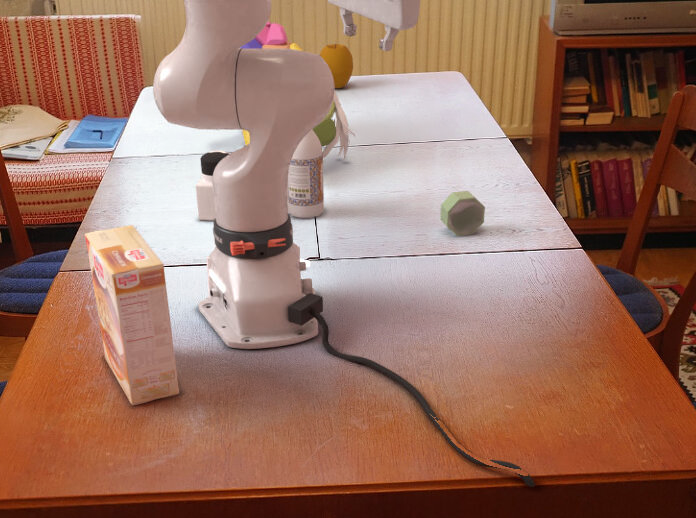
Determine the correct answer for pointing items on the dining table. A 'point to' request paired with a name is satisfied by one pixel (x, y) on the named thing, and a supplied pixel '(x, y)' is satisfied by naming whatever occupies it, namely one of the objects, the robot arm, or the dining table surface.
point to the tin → (462, 213)
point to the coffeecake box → (133, 313)
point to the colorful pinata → (326, 130)
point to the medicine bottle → (207, 185)
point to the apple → (338, 63)
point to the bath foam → (306, 179)
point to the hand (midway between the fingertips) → (367, 42)
